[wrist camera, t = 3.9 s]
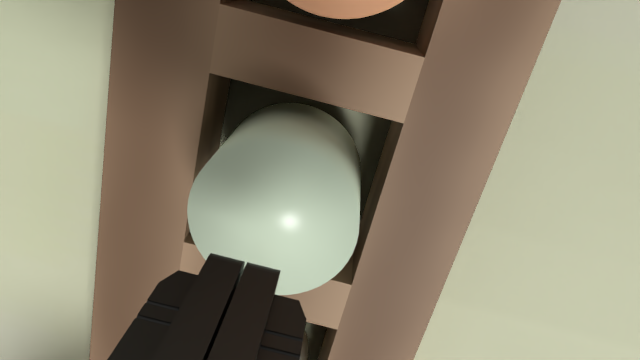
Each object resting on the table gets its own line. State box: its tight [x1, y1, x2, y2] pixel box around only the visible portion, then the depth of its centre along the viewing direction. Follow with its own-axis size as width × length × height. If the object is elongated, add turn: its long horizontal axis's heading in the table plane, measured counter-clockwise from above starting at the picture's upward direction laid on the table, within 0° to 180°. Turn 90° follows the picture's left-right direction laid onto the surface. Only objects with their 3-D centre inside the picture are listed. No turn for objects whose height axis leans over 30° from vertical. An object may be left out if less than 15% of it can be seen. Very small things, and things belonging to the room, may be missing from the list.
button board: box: [89, 0, 561, 360], centre depth 17 cm, size 12×26×3 cm, turn 166°
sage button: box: [187, 103, 361, 295], centre depth 16 cm, size 5×5×4 cm
